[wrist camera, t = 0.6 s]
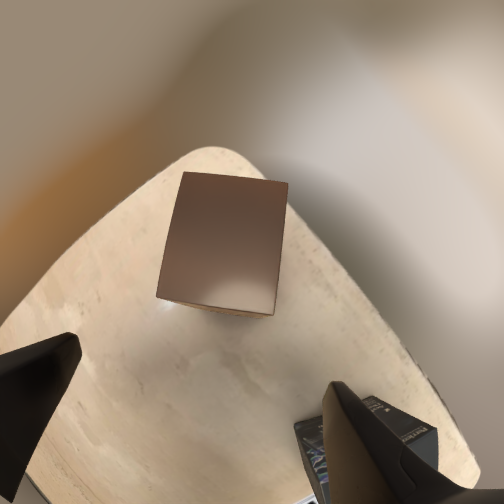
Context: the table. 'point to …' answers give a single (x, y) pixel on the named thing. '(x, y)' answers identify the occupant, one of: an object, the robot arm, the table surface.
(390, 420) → the box
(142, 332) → the table surface
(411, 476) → the robot arm
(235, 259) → the walnut block
